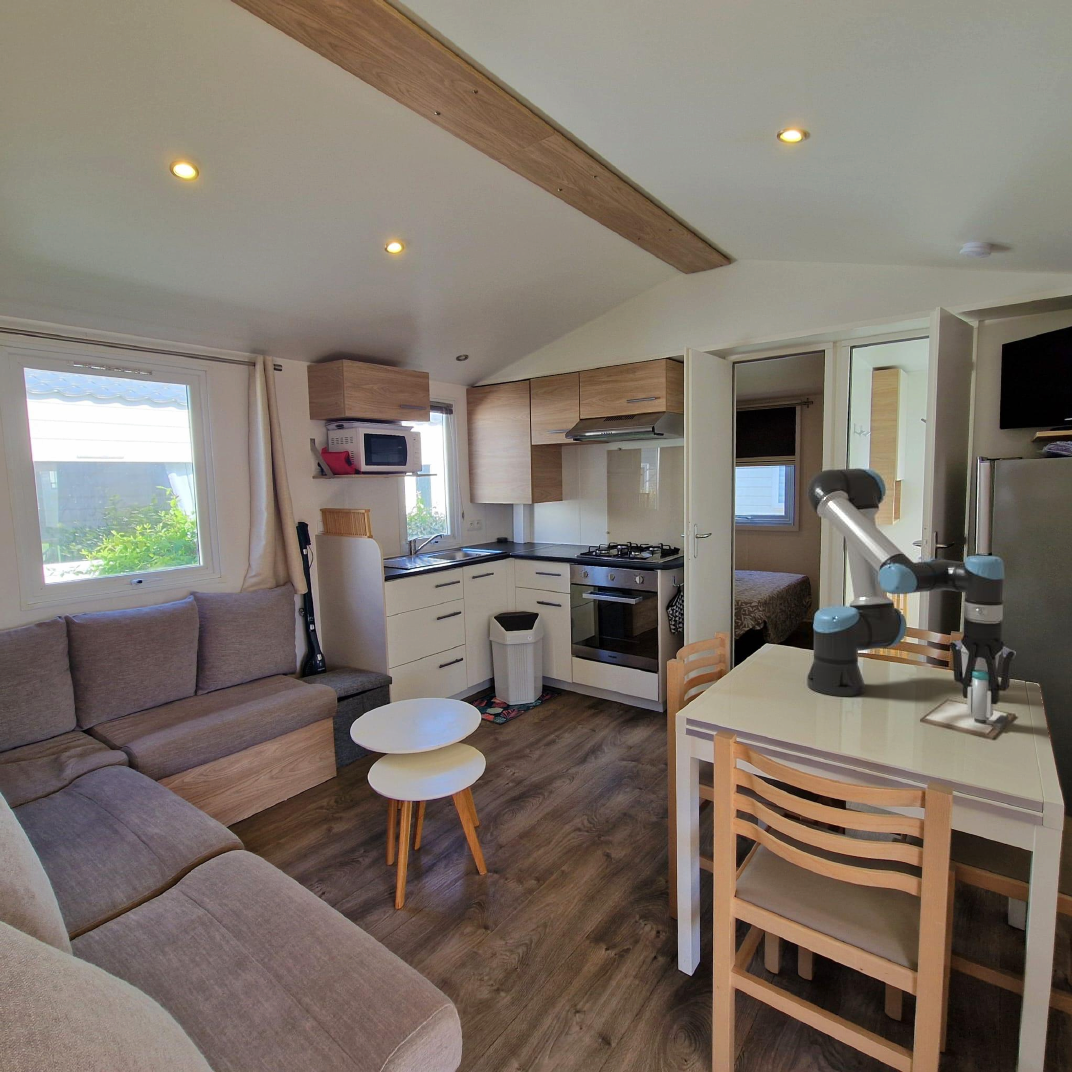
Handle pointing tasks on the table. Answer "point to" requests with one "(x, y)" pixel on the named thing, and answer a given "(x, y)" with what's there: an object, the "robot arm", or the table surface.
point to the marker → (979, 695)
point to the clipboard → (966, 720)
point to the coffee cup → (979, 663)
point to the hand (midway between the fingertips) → (980, 713)
